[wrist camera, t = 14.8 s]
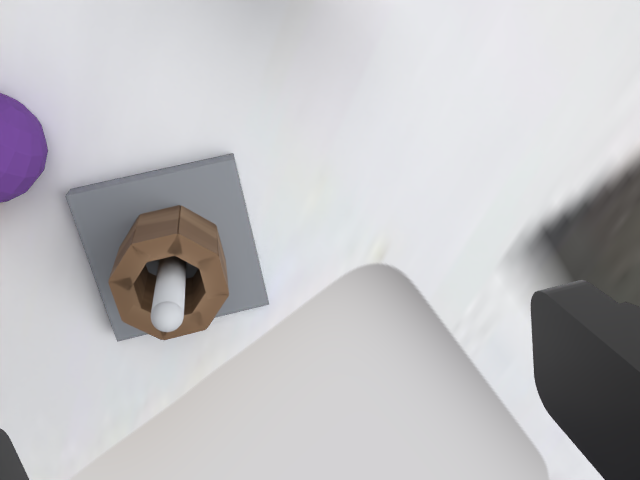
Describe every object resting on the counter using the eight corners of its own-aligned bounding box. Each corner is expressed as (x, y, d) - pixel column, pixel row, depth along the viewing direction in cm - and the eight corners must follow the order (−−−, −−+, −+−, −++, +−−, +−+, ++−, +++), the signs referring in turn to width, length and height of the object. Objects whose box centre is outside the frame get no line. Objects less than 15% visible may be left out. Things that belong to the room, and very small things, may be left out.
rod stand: (70, 188, 37) (24, 254, 27) (233, 153, 38) (245, 204, 28) (120, 330, 41) (95, 431, 31) (266, 294, 42) (287, 382, 32)
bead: (110, 221, 37) (97, 252, 32) (209, 198, 37) (210, 225, 33) (139, 307, 39) (131, 348, 34) (232, 285, 40) (236, 321, 35)
